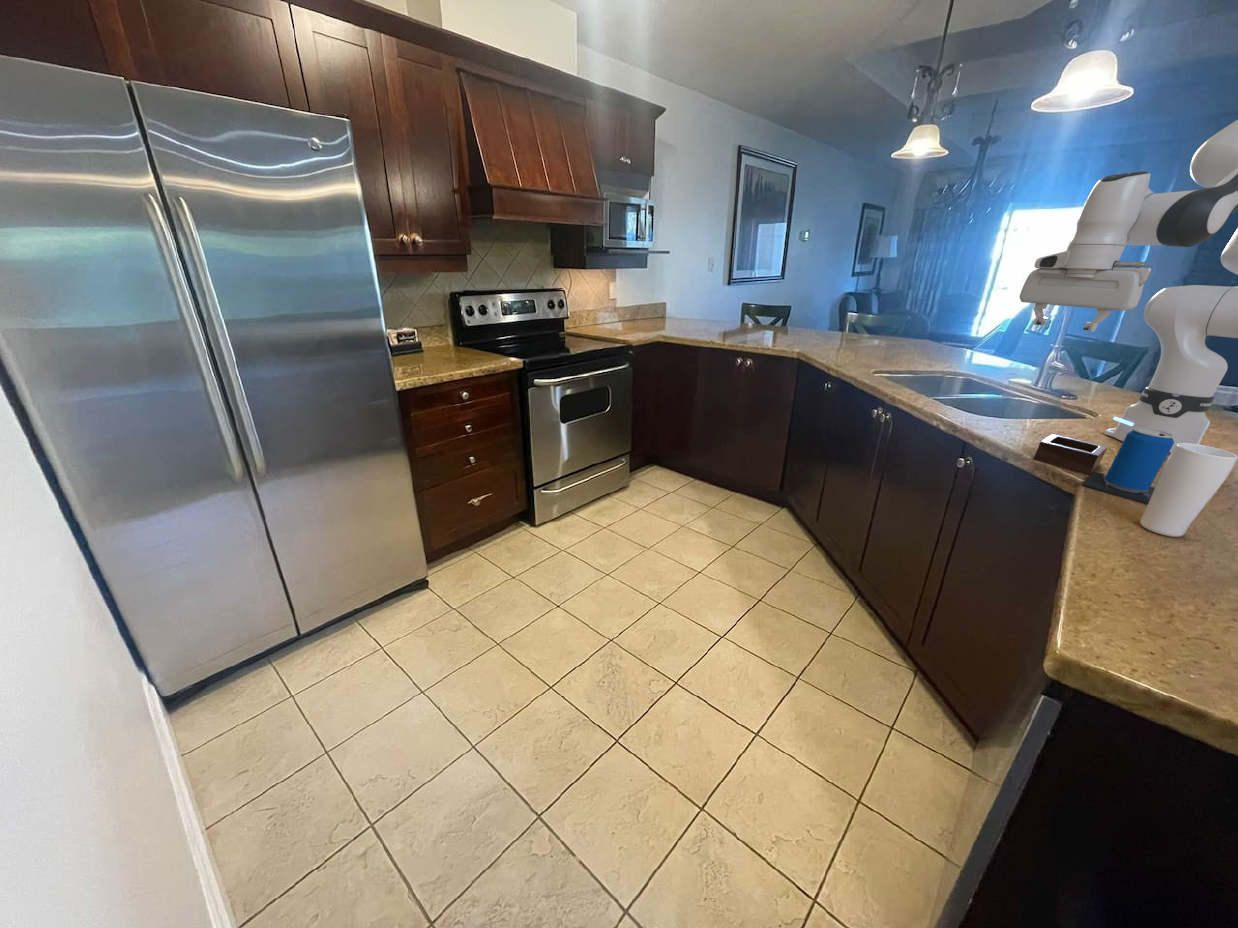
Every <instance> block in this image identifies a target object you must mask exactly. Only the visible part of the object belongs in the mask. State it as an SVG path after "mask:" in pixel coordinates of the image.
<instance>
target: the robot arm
mask: <svg viewBox="0 0 1238 928" xmlns="http://www.w3.org/2000/svg"><path fill="white" fill-rule="evenodd" d="M1189 172H1190V176H1191V178H1192V179H1193V181H1194V182H1195V183H1196V184H1197V185H1198V186H1201V188H1199V189H1192V190H1191V189H1190V190H1181V191H1170V192H1159V193H1155V192H1154V191H1152V190H1151V189H1150V188H1149V184H1150V180H1151V172H1148V171H1144V170H1143V171H1142V170H1141V171H1132V172H1125V173H1116V174H1111V175H1107V176H1105V177H1103V178H1100V179H1099V180H1098V181H1097V182H1096V183H1095V185H1094V186H1093V187H1092V189H1091V191H1090V193H1089V194H1088V196H1087V198H1086V200H1085V202H1084V205H1083V207H1082V209H1081V212H1080V214H1079V217H1078V219H1077V222H1076V231H1075V234H1074V235H1073V237H1072V239H1071V240H1070V242H1069V243H1068V245H1067V248H1066V250H1064V251H1059V252H1056V253H1053V254H1049V255H1045V256H1041V257H1038V258H1037V259H1036V260H1035V262H1034V268H1035V269H1034V270H1032V271H1031V272H1030V273H1029V274H1028V275H1027V277H1026V279H1025V281H1024V284H1023V286H1022V288H1021V290H1020V292H1019V293H1020V294H1019V300H1020V302H1021V303H1028V304H1034V306H1033V312H1034V316H1035V319H1034V322H1033V325H1034V326H1046V324H1047V321H1048V319H1049V317H1046V316H1045V314H1044V310H1046V309H1047V307H1048V305H1049V306H1061V307H1062V306H1063V307H1074V308H1085V309H1095V310H1096V309H1097V310H1096V312H1095V315H1097V316H1096V317H1095V318H1093V319H1092V320H1091V321H1086V322H1085V324H1084V327H1082V331H1084V332H1085V331H1086V332H1095V331H1096V330H1097V328H1098V326H1099V324H1100V323H1101V322H1103V321H1104V320H1105V319H1106V318H1107V317H1109V316H1110V314H1111V312H1112V311H1118V312H1119V311H1121V312H1129V311H1131V310H1132V309H1135V308H1136V307H1138V304H1139V302H1140V300H1141V297H1142V293H1143V289H1144V285H1145V284H1146V282H1147V281H1148V280H1149V278H1150V275H1151V274H1152V267H1151V266H1150V265H1149V264H1146V262H1145V261H1128V260H1127V261H1126V260H1124V261H1123V260H1121V257H1122V255H1123V252H1124V250H1125V248H1126V246H1134V247H1137V246H1138V247H1139V246H1140V247H1143V246H1166V247H1179V248H1191V247H1195V246H1197V245H1199V244H1201V243H1203V242H1205V241H1207V240H1209V239H1211V238H1212V237H1213V236H1215V235H1216V234H1218V232H1219V231H1220V230H1221V229H1222V228H1223V227H1224V226H1225V224H1226V223H1227V222H1228V220H1230V217H1231V216H1232V215H1233V213H1234V212H1236V211H1237V210H1238V119H1236V120H1234V121H1233V122H1231V123H1229V124H1228V125H1227V126H1225V127H1224V128H1223V129H1221V130H1219V131H1218V132H1216V133H1215V134H1213V135H1212V136H1211V137H1209V138H1208V139H1207V140H1206V141H1204V143H1202V144H1201V146H1200V147H1199V148H1198V149H1197V150H1196V151H1195V152H1194V154H1193V156H1192V158H1191V161H1190V165H1189ZM1220 262H1221V265H1222V266H1223V267H1224V269H1226V270H1228V271H1229V272H1230V273H1233V274H1235V275H1237V276H1238V228H1237V229H1236V230H1235V232H1234V234H1233V235H1232V237H1231V238H1230V240H1229V242H1228V243H1227V244H1226V246H1225V248H1224V249H1223V251H1222V253H1221V255H1220ZM1143 319H1144V323H1146V325H1147V326H1148V327H1149V328H1150V329H1152V330H1153V331H1154V333H1155V334H1156V336H1157V339H1158V341H1159V345H1160V357H1159V361H1158V363H1157V366H1156V368H1155V371H1154V374H1153V376H1152V378H1151V380H1150V382H1149V384H1148V385H1147V386H1145V387H1144V389H1143V391H1142V392H1141V395H1140V396H1139V401H1138V402H1137V403H1134V404H1131V405H1129V406H1127V407H1126V408H1125V410H1124V412H1123V414H1122V416H1121V417H1117V416H1113V420H1114V421H1117V422H1118V423H1117V425H1116V426H1115V427H1112V428H1108V429H1105V430H1104V431H1103V435H1106V436H1109V437H1112V438H1114V439H1117V440H1118V441H1120V442H1123V441H1124V439H1125V437H1126V435H1127V433H1129V432H1130V431H1132V430H1133V428H1135V427H1140V428H1149V429H1155V430H1159V431H1163V432H1167V433H1170V434H1172V435H1174V437H1173V440H1174V444H1173V446H1172V448H1171V450H1170V452H1169V454H1171V452H1172V451H1173V449H1174V447H1175V446H1176V444H1178V443H1193V444H1199V445H1202V444H1201V441H1202V440H1203V439H1204V437H1205V434H1206V432H1207V430H1208V429H1209V427H1210V424H1211V421H1210V420H1209V418H1208V417H1207V415H1206V412H1208V411H1209V409H1210V407H1211V406H1212V405H1213V402H1214V399H1215V397H1214V394H1215V393H1216V391H1217V389H1218V387H1219V385H1220V384H1221V382H1222V380H1223V378H1224V377H1225V375H1226V373H1227V371H1228V369H1229V367H1228V362H1227V360H1226V359H1225V358H1224V357H1223V356H1221V354H1218V353H1217V352H1215V351H1213V350H1212V349H1210V348H1208V347H1207V345H1206V337H1208V336H1211V337H1222V338H1230V339H1238V285H1236V286H1227V285H1226V286H1224V285H1201V284H1191V285H1190V284H1189V285H1188V284H1187V285H1179V286H1171V287H1165V288H1163V289H1161V290H1160V291H1158V292H1157V293H1155V294H1154V295H1152V297H1150V299H1149V300H1148V301H1147V302H1146V304H1145V307H1144V310H1143Z"/></svg>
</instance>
